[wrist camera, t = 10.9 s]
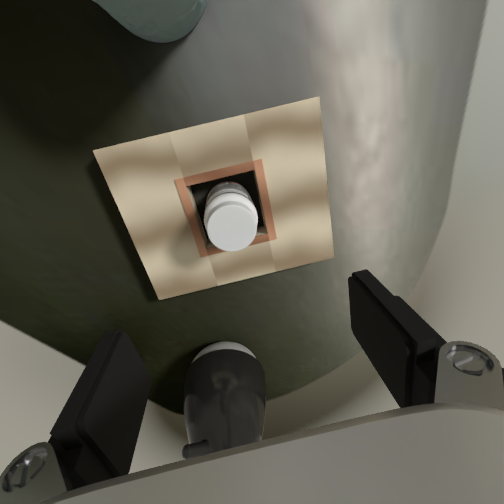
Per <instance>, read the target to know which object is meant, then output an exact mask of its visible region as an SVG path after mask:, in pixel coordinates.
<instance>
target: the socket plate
mask: <svg viewBox="0 0 504 504" xmlns="http://www.w3.org/2000/svg"><path fill="white" fill-rule="evenodd" d="M93 153H94V155H95V157H96V159H97V162H98V164H99V166H100V168H101V171H102V173H103V175H104V177H105V180H106V182H107V184H108V186H109V189H110V191H111V193H112V195H113V197H114V200H115V202H116V204H117V206H118V209H119V211H120V213H121V215H122V218H123V220H124V222H125V224H126V227H127V229H128V231H129V233H130V236H131V238H132V240H133V242H134V245H135V247H136V249H137V251H138V254H139V256H140V258H141V260H142V263H143V265H144V267H145V269H146V272H147V274H148V276H149V278H150V281H151V283H152V285H153V287H154V290H155V292H156V294H157V296H158V299H159V300H162V299H166V298H170V297H174V296H178V295H182V294H186V293H190V292H195V291H199V290H203V289H207V288H211V287H215V286H219V285H223V284H227V283H231V282H235V281H240V280H244V279H248V278H252V277H256V276H260V275H264V274H268V273H272V272H276V271H281V270H285V269H289V268H293V267H297V266H301V265H305V264H309V263H313V262H317V261H321V260H326V259H330V258H334V252H333V241H332V230H331V219H330V208H329V197H328V187H327V176H326V165H325V154H324V143H323V132H322V121H321V111H320V100H319V97H315V98H311V99H306V100H302V101H298V102H294V103H290V104H285V105H281V106H277V107H273V108H269V109H265V110H260V111H256V112H252V113H248V114H244V115H239V116H235V117H231V118H227V119H223V120H218V121H214V122H210V123H206V124H202V125H198V126H193V127H189V128H185V129H181V130H177V131H172V132H168V133H164V134H160V135H156V136H152V137H147V138H143V139H139V140H135V141H131V142H126V143H122V144H118V145H114V146H110V147H105V148H101V149H97V150H93ZM252 170H253V173H254V178H255V183H256V188H257V193H258V198H259V202H260V207H261V212H262V217H263V222H264V226H260V227H257V232H256V235H255V238H254V240H253V241H252V242H251V244H250V245H249V246H247V247H246V248H244V249H242V250H239V251H235V252H228V251H224V250H221V249H219V248H217V247H216V246H215V245H214V244H213V243H212V242H211V241H210V239H207V238H206V235H205V232H204V228H203V225H202V222H201V219H200V216H199V212H198V209H197V206H196V203H195V200H194V196H193V193H192V190H191V187H190V185H194V184H198V183H202V182H206V181H210V180H214V179H219V178H223V177H227V176H231V175H235V174H239V173H244V172H248V171H252Z"/></svg>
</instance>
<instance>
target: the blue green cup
mask: <svg viewBox="0 0 504 504" xmlns="http://www.w3.org/2000/svg"><path fill="white" fill-rule="evenodd" d="M92 1H94V2H96V3H98V4H99V5H100V6H101V7H102V8H103V9H104V10H106V11H107V12H108V13H109V14H110V15H111V16H112V17H113V18H114V19H116V20H117V21H118V22H119V23H120V24H121V25H122V26H124V27H125V28H126V29H127V30H129V31H130V32H131V33H133V34H134V35H136V36H138V37H140V38H143V39H145V40H148V41H152V42H158V43H167V42H172V41H176V40H178V39H180V38H182V37H184V36H185V35H187V34H188V33H189V32H190V31H191V30H192V29H193V28H194V27H195V26H196V25H197V23H198V22H199V20H200V19H201V17H202V15H203V13H204V10H205V7H206V4H207V0H92Z"/></svg>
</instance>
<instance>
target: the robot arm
mask: <svg viewBox="0 0 504 504" xmlns="http://www.w3.org/2000/svg"><path fill="white" fill-rule="evenodd" d="M348 285H349V300H350V315H351V328H352V331H353V334H354V336H355V337H356V339H357V340H358V342H359V344H360V345H361V347H362V348H363V350H364V351H365V353H366V355H367V356H368V358H369V359H370V361H371V362H372V364H373V366H374V367H375V369H376V370H377V372H378V374H379V375H380V377H381V378H382V380H383V381H384V383H385V384H386V386H387V388H388V389H389V391H390V393H391V394H392V396H393V397H394V399H395V400H396V402H397V403H398V405H399V406H400V408H399V409H394V410H390V411H385V412H381V413H376V414H372V415H367V416H363V417H358V418H354V419H350V420H345V421H341V422H338V423H333V424H329V425H325V426H320V427H316V428H312V429H308V430H304V431H300V432H296V433H291V434H288V435H283V436H279V437H275V438H271V439H267V440H263V441H259V442H255V443H250V444H246V445H242V446H238V447H234V448H230V449H226V450H222V451H218V452H214V453H210V454H206V455H202V456H198V457H194V458H190V459H186V460H182V461H178V462H174V463H170V464H166V465H163V466H158V467H154V468H150V469H147V470H143V471H139V472H135V473H131V474H128V473H129V470H130V466H131V462H132V458H133V454H134V450H135V446H136V443H137V438H138V435H139V431H140V427H141V423H142V419H143V415H144V411H145V407H146V403H147V400H148V396H149V392H150V388H151V376H150V374H149V372H148V371H147V369H146V367H145V365H144V363H143V361H142V360H141V358H140V356H139V354H138V352H137V351H136V349H135V347H134V345H133V343H132V341H131V340H130V338H129V336H128V334H127V333H126V332H122V331H121V330H115V331H111V332H107V333H104V334H103V336H102V338H101V340H100V341H99V343H98V345H97V347H96V349H95V351H94V352H93V354H92V356H91V358H90V360H89V362H88V364H87V365H86V367H85V369H84V371H83V373H82V375H81V377H80V378H79V380H78V382H77V384H76V386H75V388H74V389H73V391H72V393H71V395H70V397H69V399H68V401H67V403H66V404H65V406H64V408H63V410H62V412H61V414H60V415H59V417H58V419H57V421H56V423H55V425H54V427H53V428H52V430H51V432H50V434H51V435H52V436H51V437H50V439H49V441H48V443H47V442H41V443H37V444H35V445H33V446H30V447H29V448H27V449H26V450H24V451H23V452H21V453H20V454H19V455H18V456H17V457H15V458H14V459H13V460H12V462H11V463H10V464H9V465H8V466H7V467H6V469H5V470H4V471H3V473H2V474H1V476H0V504H504V368H502V367H501V365H500V362H499V360H498V359H497V358H496V357H495V355H493V354H492V353H491V352H490V351H488V350H487V349H485V348H483V347H481V346H479V345H477V344H473V343H470V342H464V341H452V342H449V343H447V342H446V341H445V340H444V339H443V338H442V337H441V336H440V335H439V334H438V333H437V332H436V331H435V330H434V329H433V328H432V327H430V326H429V325H428V324H427V323H426V322H425V321H424V320H423V319H422V318H421V317H420V316H419V315H418V314H417V313H416V312H415V311H414V310H413V309H412V308H411V307H410V306H409V305H408V304H407V303H406V302H405V301H404V300H403V299H402V298H400V297H399V296H393V295H392V294H391V293H390V292H389V291H388V290H387V289H386V288H385V287H384V286H383V285H382V284H381V283H380V282H379V281H378V280H377V279H376V278H375V277H374V276H373V275H372V274H371V273H370V272H369V271H368V270H362V271H358V272H353V273H352V277H349V278H348Z"/></svg>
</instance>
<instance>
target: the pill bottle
mask: <svg viewBox="0 0 504 504" xmlns="http://www.w3.org/2000/svg"><path fill="white" fill-rule="evenodd" d="M257 224H258V215H257V211H256V208H255V206H254V204H253V202H252V200H251V197H250V195H249V193H248V191H247V190H246V189H245V188H244V187H243V186H242V185H240V184H238V183H236V182H231V181H226V182H221V183H219V184H217V185H215V186H214V187H213V188H212V189H211V190H210V192H209V194H208V196H207V201H206V208H205V214H204V225H205V228H206V230H207V234H208V237H209V239H210V241H211V242H212V243H213V244H214V245H215V246H216V247H217V248H219V249H221V250H224V251H228V252H235V251H239V250H242V249H244V248H246V247H247V246H249V245H250V244H251V242H252V241H253V240H254V238H255V235H256V232H257Z"/></svg>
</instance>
